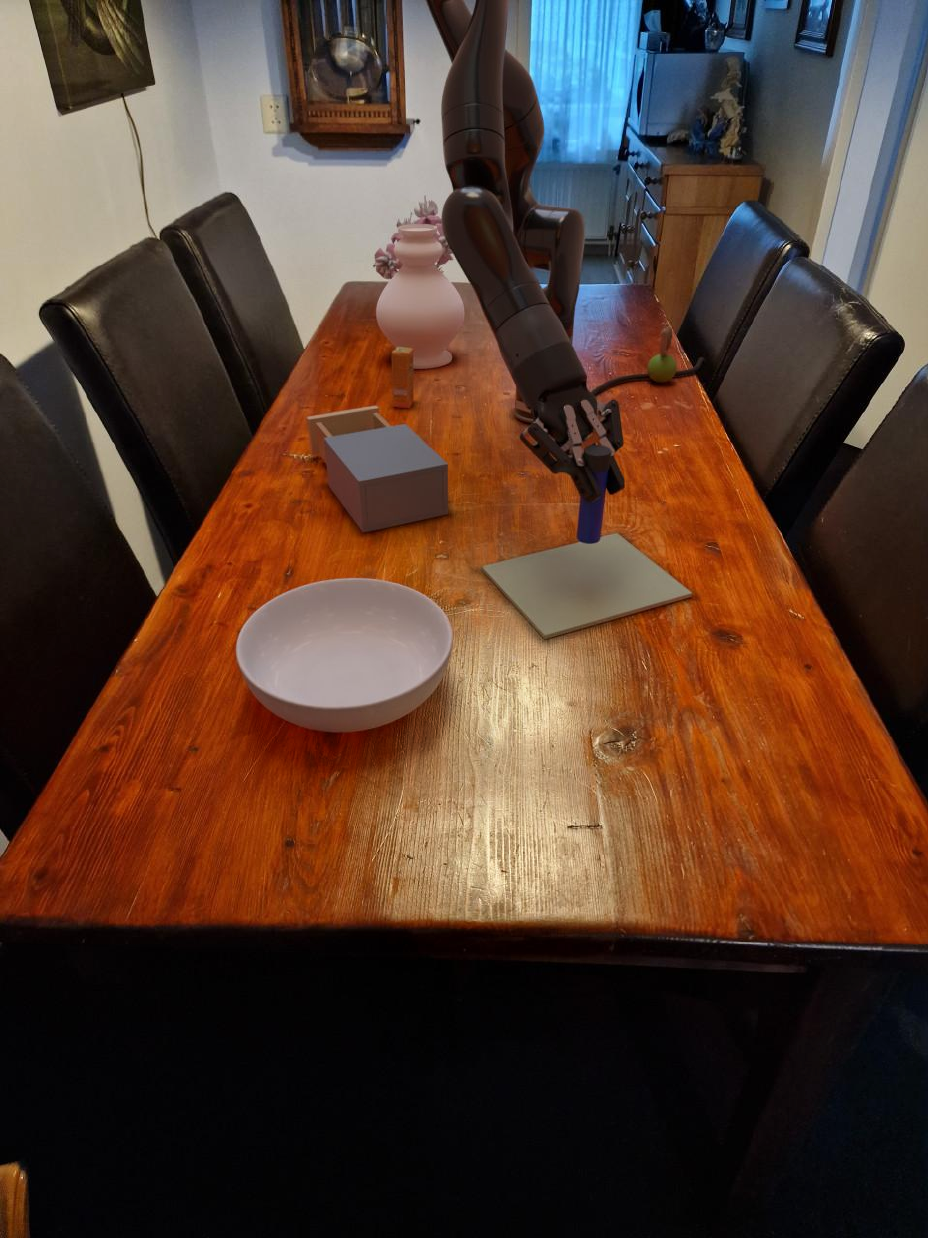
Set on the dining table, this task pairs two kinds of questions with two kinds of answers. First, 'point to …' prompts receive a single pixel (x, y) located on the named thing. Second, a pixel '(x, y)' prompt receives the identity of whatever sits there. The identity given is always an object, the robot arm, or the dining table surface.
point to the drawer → (341, 425)
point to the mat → (583, 584)
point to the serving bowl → (345, 653)
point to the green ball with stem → (663, 359)
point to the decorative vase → (420, 300)
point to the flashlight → (593, 512)
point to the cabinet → (386, 477)
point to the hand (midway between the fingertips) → (606, 495)
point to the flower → (387, 260)
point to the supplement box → (402, 377)
